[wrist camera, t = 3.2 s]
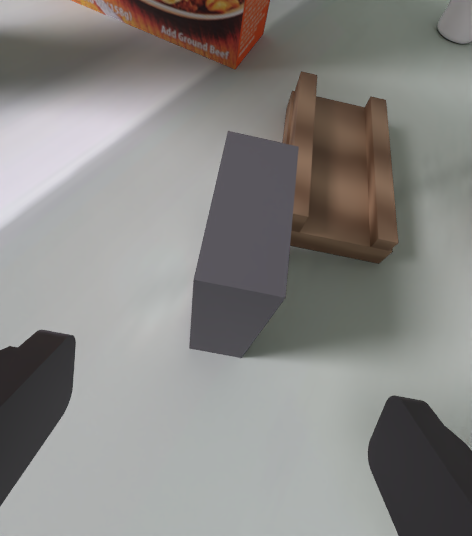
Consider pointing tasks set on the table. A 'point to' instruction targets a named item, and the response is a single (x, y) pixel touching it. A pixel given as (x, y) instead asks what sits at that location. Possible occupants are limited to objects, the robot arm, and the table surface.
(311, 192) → the wooden channel tray
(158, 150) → the table surface
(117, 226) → the table surface
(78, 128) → the table surface
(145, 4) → the pasta box
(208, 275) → the dark grey block
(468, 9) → the drinking glass
